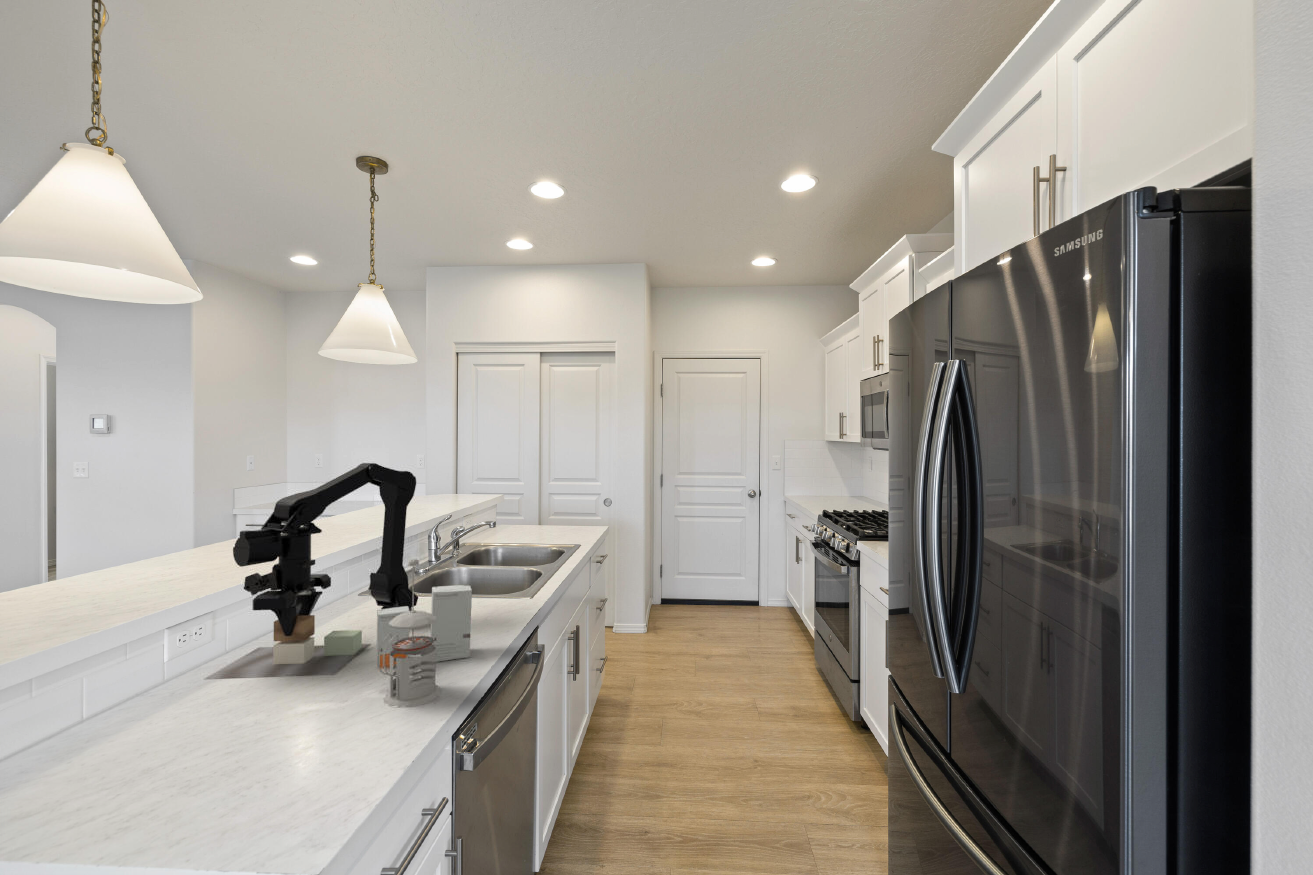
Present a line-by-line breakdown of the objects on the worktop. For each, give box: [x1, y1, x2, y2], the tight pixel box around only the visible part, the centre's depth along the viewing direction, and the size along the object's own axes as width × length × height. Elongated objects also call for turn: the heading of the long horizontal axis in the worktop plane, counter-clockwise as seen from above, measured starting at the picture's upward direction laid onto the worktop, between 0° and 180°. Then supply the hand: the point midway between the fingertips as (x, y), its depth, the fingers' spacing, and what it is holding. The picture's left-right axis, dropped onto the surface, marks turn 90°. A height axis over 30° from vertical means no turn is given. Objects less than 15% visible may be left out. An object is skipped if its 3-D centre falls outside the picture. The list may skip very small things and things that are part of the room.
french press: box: [376, 558, 442, 708], centre depth 102 cm, size 10×12×25 cm
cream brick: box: [272, 636, 315, 664], centre depth 117 cm, size 6×4×4 cm, turn 95°
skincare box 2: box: [430, 584, 473, 663], centre depth 122 cm, size 8×6×15 cm
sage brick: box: [323, 629, 363, 656], centre depth 121 cm, size 6×4×4 cm, turn 95°
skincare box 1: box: [376, 606, 410, 669], centre depth 115 cm, size 6×4×12 cm
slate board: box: [204, 643, 372, 680], centre depth 117 cm, size 24×17×1 cm
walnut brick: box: [273, 614, 316, 642], centre depth 117 cm, size 6×4×4 cm, turn 95°
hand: (294, 632), depth 117 cm, fingers open, 4 cm apart
